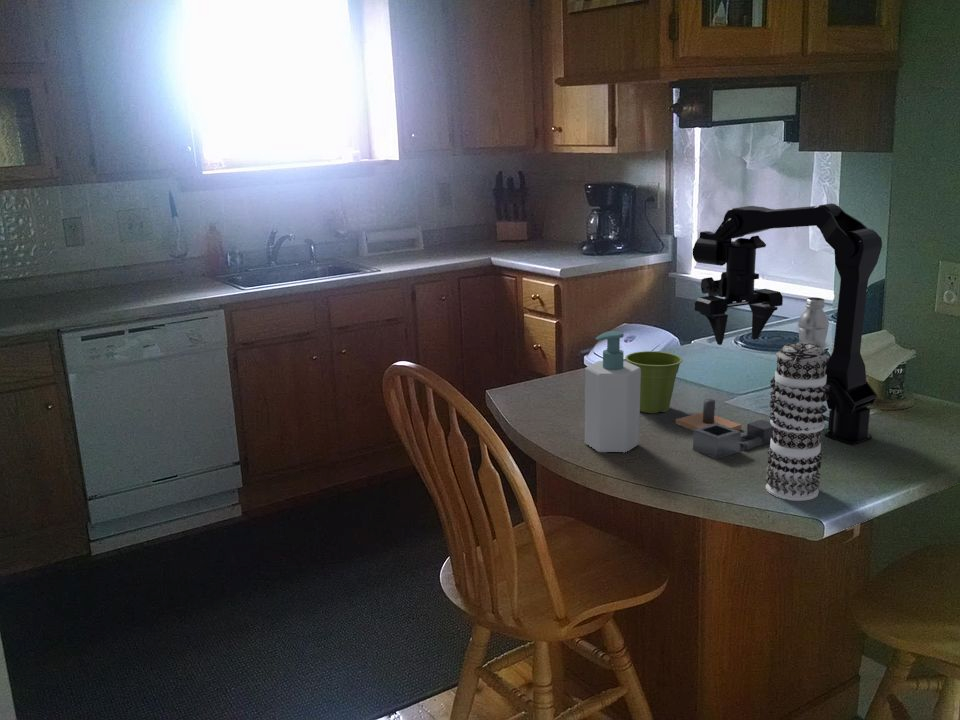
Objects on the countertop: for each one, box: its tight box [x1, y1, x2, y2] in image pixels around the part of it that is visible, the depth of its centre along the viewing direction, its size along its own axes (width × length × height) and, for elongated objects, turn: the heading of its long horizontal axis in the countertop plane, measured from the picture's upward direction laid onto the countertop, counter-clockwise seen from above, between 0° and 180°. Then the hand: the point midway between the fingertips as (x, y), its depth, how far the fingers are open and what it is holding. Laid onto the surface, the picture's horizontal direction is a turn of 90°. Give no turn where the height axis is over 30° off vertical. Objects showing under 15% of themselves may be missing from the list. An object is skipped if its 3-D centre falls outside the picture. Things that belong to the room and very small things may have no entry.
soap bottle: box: [584, 330, 641, 454], centre depth 172 cm, size 10×9×22 cm
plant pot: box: [625, 350, 683, 414], centre depth 194 cm, size 12×12×11 cm
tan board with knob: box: [675, 398, 742, 431], centre depth 183 cm, size 10×8×6 cm
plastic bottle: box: [797, 296, 830, 353], centre depth 206 cm, size 6×7×20 cm
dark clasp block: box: [740, 419, 773, 452], centre depth 174 cm, size 4×10×3 cm, turn 123°
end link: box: [692, 423, 742, 459], centre depth 171 cm, size 6×6×4 cm
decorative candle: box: [765, 341, 830, 502], centre depth 150 cm, size 9×9×25 cm
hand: (737, 341), depth 192 cm, fingers open, 9 cm apart
